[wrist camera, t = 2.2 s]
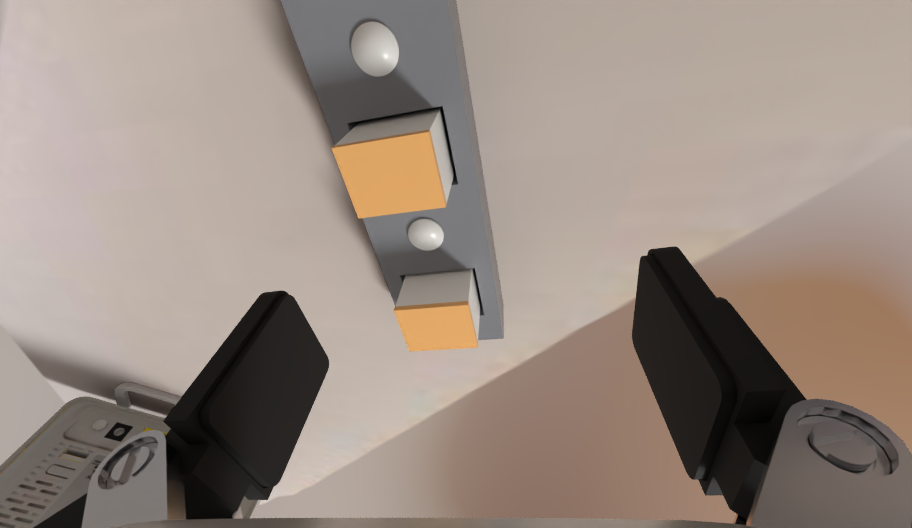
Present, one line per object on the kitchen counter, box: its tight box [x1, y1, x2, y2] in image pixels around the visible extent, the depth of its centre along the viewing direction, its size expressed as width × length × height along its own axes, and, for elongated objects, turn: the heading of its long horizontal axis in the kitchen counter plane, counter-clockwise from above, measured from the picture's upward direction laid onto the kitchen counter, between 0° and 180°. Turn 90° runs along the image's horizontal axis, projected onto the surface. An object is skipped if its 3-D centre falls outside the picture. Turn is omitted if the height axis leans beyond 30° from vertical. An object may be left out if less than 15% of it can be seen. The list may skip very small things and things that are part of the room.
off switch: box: [394, 268, 480, 351], centre depth 27 cm, size 5×4×4 cm
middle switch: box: [332, 108, 454, 219], centre depth 21 cm, size 5×4×4 cm
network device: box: [0, 383, 261, 528], centre depth 43 cm, size 26×9×20 cm, turn 67°
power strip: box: [280, 0, 504, 340], centre depth 24 cm, size 8×32×4 cm, turn 11°
